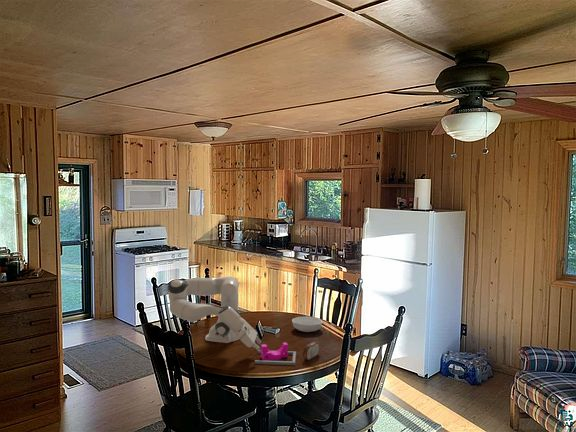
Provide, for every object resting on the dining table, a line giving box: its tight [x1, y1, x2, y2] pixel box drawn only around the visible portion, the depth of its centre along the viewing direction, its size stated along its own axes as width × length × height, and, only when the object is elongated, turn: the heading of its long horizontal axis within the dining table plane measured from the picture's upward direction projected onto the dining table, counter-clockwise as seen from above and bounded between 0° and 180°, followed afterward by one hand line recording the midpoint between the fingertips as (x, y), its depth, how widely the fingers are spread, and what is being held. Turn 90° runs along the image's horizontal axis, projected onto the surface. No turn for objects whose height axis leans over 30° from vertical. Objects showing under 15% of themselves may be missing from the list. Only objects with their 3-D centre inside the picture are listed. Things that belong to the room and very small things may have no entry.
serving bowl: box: [291, 316, 323, 333], centre depth 301 cm, size 21×21×7 cm
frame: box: [254, 349, 297, 366], centre depth 248 cm, size 22×17×2 cm
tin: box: [302, 340, 320, 361], centre depth 251 cm, size 15×3×8 cm, turn 146°
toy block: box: [260, 341, 289, 361], centre depth 249 cm, size 15×6×8 cm, turn 107°
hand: (259, 346), depth 248 cm, fingers open, 8 cm apart
